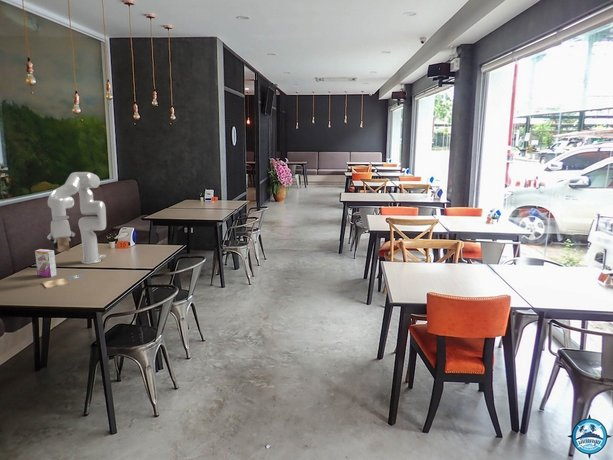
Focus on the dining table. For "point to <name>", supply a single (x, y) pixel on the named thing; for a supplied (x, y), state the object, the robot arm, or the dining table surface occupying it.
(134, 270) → the dining table surface
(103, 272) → the dining table surface
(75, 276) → the tile
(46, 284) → the cork pad
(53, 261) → the candy bar box
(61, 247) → the walnut block
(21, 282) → the dining table surface
